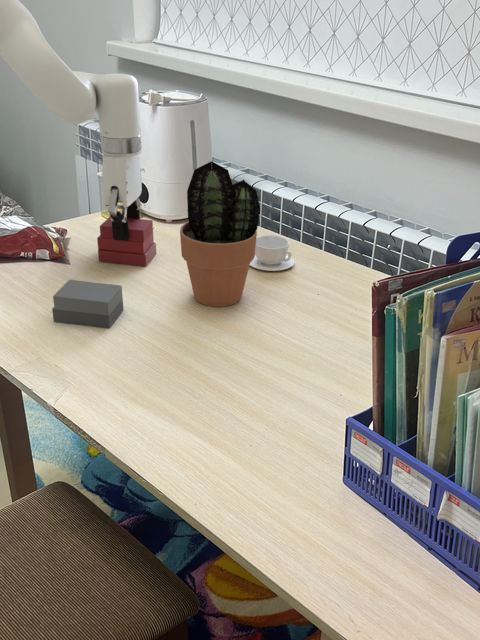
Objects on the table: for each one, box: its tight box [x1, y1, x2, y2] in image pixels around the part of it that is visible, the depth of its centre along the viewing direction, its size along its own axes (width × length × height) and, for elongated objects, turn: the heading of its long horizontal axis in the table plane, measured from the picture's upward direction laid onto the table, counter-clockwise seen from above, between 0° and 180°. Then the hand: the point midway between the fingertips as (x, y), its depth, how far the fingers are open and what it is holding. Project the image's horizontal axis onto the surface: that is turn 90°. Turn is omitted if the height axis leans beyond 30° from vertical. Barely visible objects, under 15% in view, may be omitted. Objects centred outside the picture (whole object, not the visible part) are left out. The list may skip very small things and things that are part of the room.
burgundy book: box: [99, 215, 154, 242], centre depth 140 cm, size 9×6×2 cm, turn 80°
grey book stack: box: [51, 279, 124, 329], centre depth 119 cm, size 10×7×5 cm
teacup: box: [249, 234, 295, 272], centre depth 142 cm, size 10×10×5 cm
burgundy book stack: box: [96, 231, 157, 268], centre depth 142 cm, size 10×7×5 cm
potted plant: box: [179, 160, 261, 307], centre depth 123 cm, size 14×14×25 cm
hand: (127, 233), depth 140 cm, fingers closed on burgundy book, 6 cm apart
